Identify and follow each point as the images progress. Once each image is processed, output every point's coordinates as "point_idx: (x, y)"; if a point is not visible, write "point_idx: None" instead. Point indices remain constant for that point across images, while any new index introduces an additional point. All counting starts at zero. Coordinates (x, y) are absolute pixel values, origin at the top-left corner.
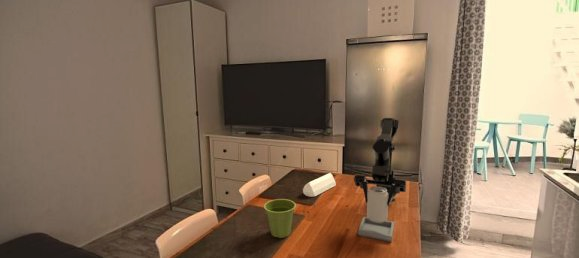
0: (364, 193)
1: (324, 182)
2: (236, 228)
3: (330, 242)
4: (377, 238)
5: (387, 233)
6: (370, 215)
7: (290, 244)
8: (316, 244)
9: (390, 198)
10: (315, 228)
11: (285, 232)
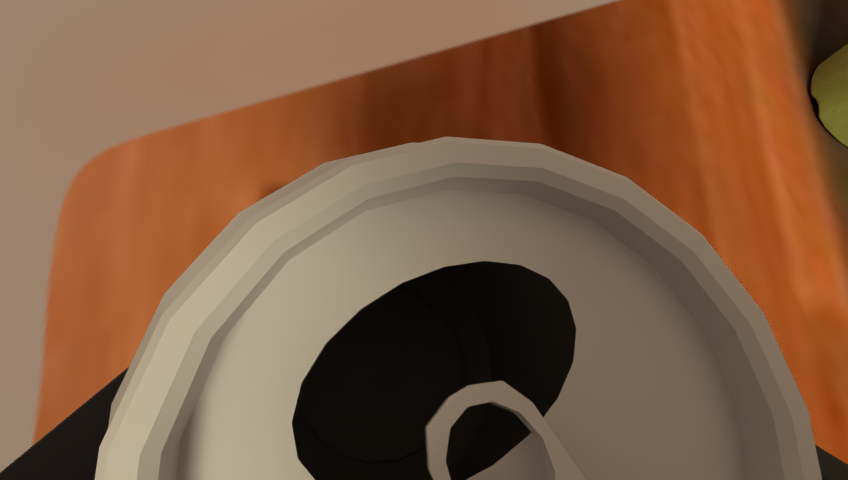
0: None
1: None
2: None
3: (605, 101)
4: None
5: None
6: (451, 272)
7: (757, 28)
8: (658, 61)
9: (88, 415)
10: (741, 223)
11: (843, 51)
